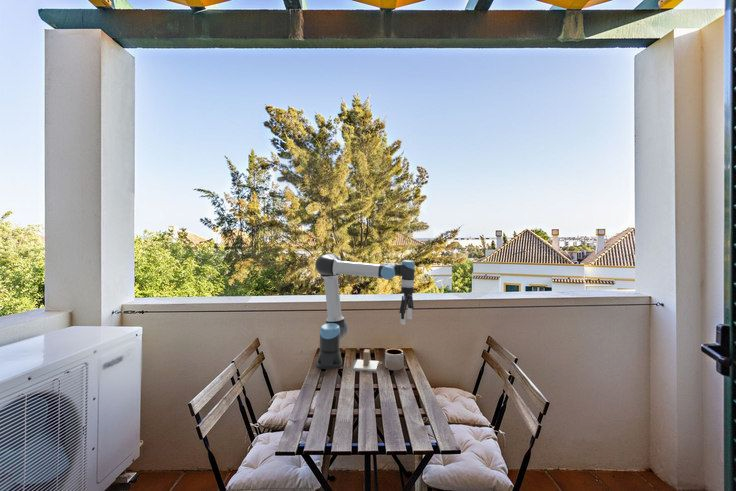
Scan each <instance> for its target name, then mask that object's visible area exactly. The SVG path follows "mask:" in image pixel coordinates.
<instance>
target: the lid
mask: <svg viewBox="0 0 736 491" xmlns="http://www.w3.org/2000/svg"><path fill="white" fill-rule="evenodd" d="M362 357H363V358H362V359H356V360H357V362H356V364H355V366H354V369H355V370H368V371H376V370H377V366H378V364H379V360H370V359H371V349H369V348H368V349H367V348H365V349H364V350H363V356H362Z"/></svg>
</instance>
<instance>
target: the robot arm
mask: <svg viewBox="0 0 736 491" xmlns="http://www.w3.org/2000/svg"><path fill="white" fill-rule="evenodd" d="M415 264H416V263H415V261H413V260H406V259H405V260H402V262H401V263H393V262H383V263H382V264H375V263H367V262H355V261H346V260H345V261H344V260H341V259H340V257H339V256H338V255H336V254H334V253H326V254H323V255H321V256H319V257H317V258H316V260H315V263H314V265H315V269H316V271H317V272H318V274H320V277H321V278H322V279H323V282H324V283H323V284H324V292H325V293H324V294H325V302H326V312H327V318H326V319H325V323H324V324H322V325H321V327H320V328H319V353H318V356H317V360H316V367H317V368H319V369H322V370H333V368H334V369H337V368H336V367H338V368H340V367H342V365H343V359H342V355H341V352H340V342H341V341H342V339H343V338H344V337H345V336H346V334H347V332H348V325H347V323H346V320H345V317H344V316H343V315H342V314H343V313H342V305H341V296H340V289H339V276H340V275H345V276H346V275H348V276H349V275H350V276H359V277H369V278H378V279H379V278H380V279H384V280H392V279H393V278H394V277H401V284H400V285H401V286H400V288H401V289H400V290H401V291H400V292H401V294H403V295H402V296H401V303H400V308H399V311H398V313H399V314H400V325H406V319H407V320H412V319H413V309H414V308H415V307H414V300H413V294H414V293H415V287H414V286H415V283H416V282H415V275H416V274H415V272H416V268H415V267H416V265H415ZM406 309H407V310H406ZM406 311H407V314H406Z"/></svg>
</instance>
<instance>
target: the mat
mask: <svg viewBox="0 0 736 491" xmlns="http://www.w3.org/2000/svg"><path fill="white" fill-rule="evenodd" d="M357 360H358V359H354V361H353V363H352V364H351V365H350V366H351V367H350V368H349V371H352V372H361V370H355V369H354V366H355V364H356V362H357ZM378 361H379V360H378ZM379 363H380V364H382V365H383V361H379ZM380 364H379V365H380ZM362 372H363V371H362ZM363 373H364V372H363ZM367 373H375V374H376V373H377V370H376V371H368V372H367ZM377 374H378V373H377Z"/></svg>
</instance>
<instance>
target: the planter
mask: <svg viewBox="0 0 736 491" xmlns="http://www.w3.org/2000/svg"><path fill="white" fill-rule="evenodd" d="M385 367H386V368H388V369H387V370H390V371H401V370H402V368H403V369H404V350H402V349H399V348H387V349H386V350H385V351H384V368H385ZM400 369H401V370H400Z"/></svg>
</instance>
